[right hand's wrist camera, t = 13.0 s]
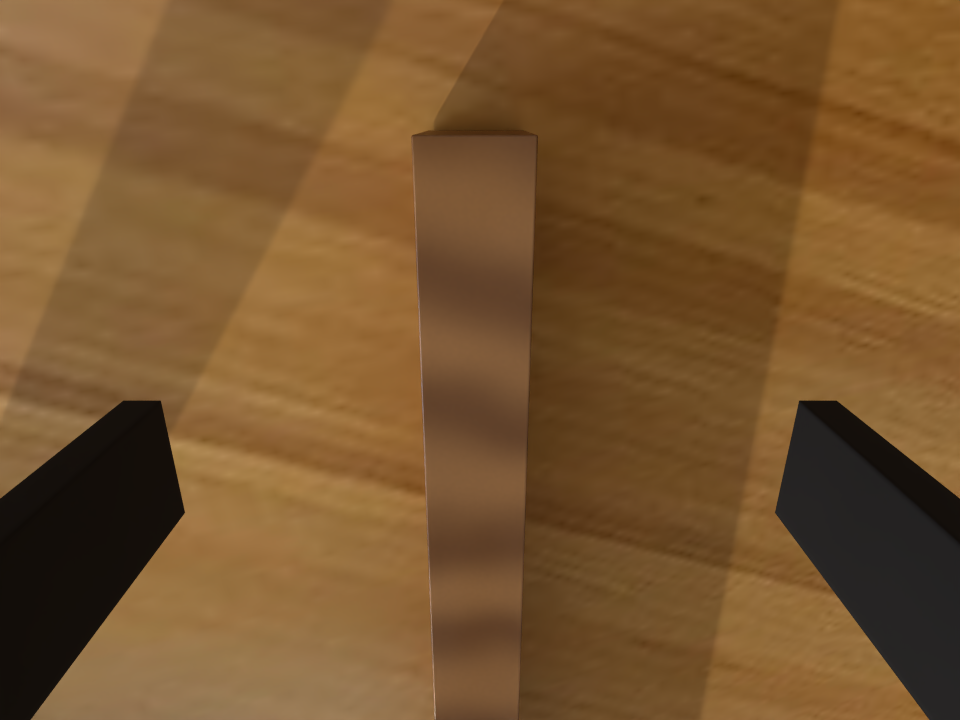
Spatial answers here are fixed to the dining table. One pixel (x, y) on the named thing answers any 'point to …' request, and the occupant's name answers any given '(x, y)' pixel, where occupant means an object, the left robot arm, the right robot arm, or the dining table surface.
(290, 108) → the dining table surface
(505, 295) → the bar
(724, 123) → the dining table surface
